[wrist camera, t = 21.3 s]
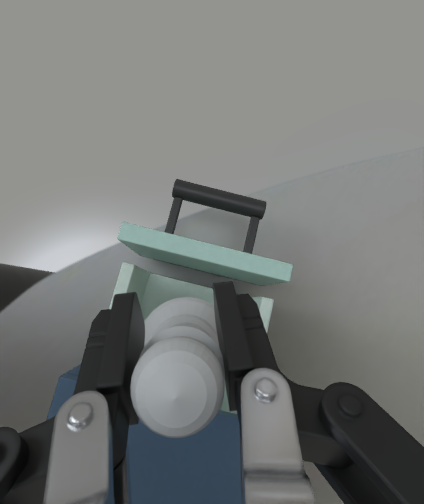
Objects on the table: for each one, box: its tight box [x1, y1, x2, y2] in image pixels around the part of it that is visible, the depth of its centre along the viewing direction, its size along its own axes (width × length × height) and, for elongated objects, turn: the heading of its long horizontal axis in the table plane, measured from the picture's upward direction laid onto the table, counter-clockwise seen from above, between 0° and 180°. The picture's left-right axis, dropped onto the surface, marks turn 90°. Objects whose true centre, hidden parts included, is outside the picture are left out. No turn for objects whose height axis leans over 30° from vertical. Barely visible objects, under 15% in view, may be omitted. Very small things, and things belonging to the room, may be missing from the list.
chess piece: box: [130, 297, 225, 438], centre depth 11 cm, size 5×5×8 cm
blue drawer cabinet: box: [46, 364, 241, 504], centre depth 21 cm, size 15×13×10 cm
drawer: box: [109, 179, 293, 414], centre depth 23 cm, size 18×11×8 cm, turn 166°
